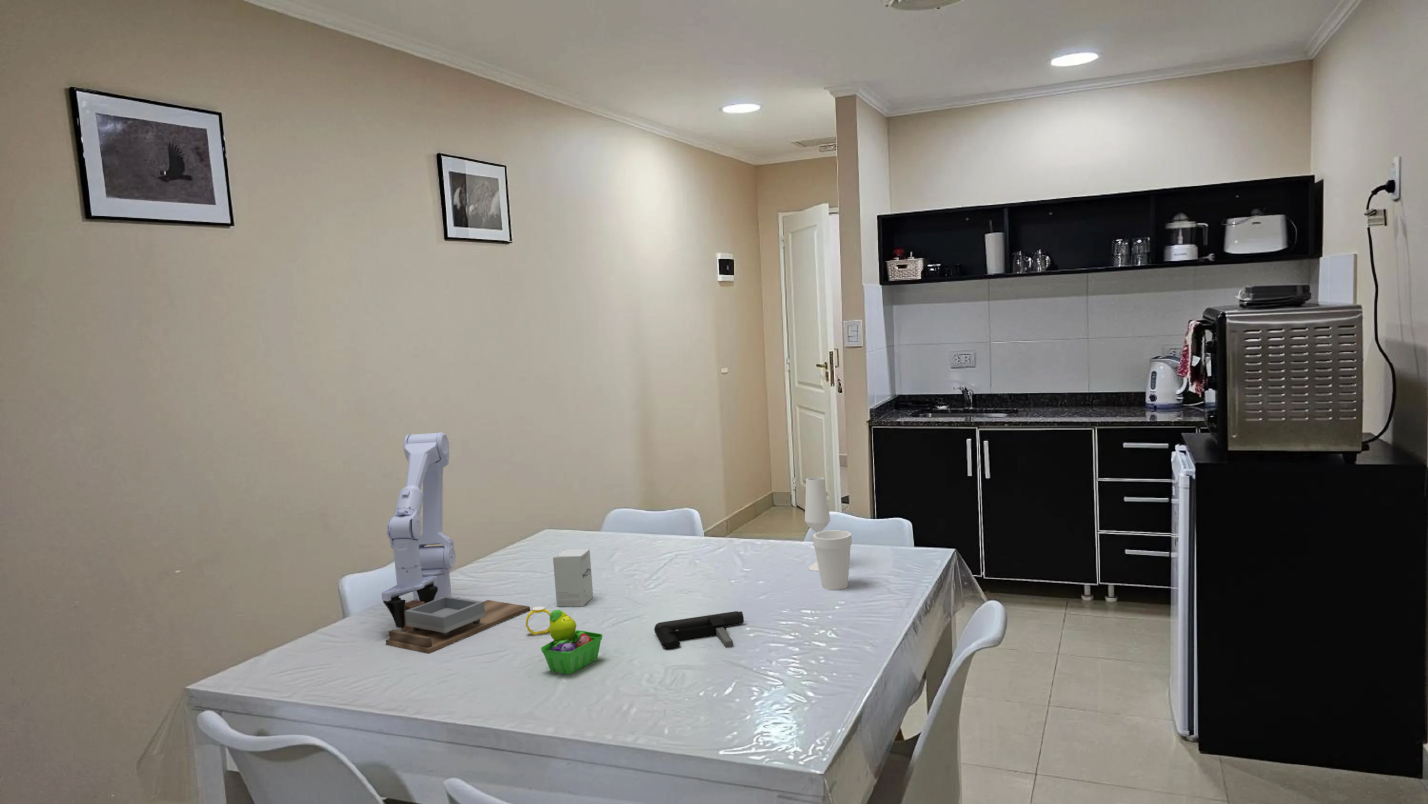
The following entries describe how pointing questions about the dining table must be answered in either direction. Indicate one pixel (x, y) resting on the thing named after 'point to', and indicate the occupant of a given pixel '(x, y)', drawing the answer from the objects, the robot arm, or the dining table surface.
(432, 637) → the board
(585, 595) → the supplement box
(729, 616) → the door handle
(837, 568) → the foam cup
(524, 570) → the dining table surface
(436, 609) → the tray
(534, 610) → the watch
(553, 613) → the fruit basket
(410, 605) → the part block
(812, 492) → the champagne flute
